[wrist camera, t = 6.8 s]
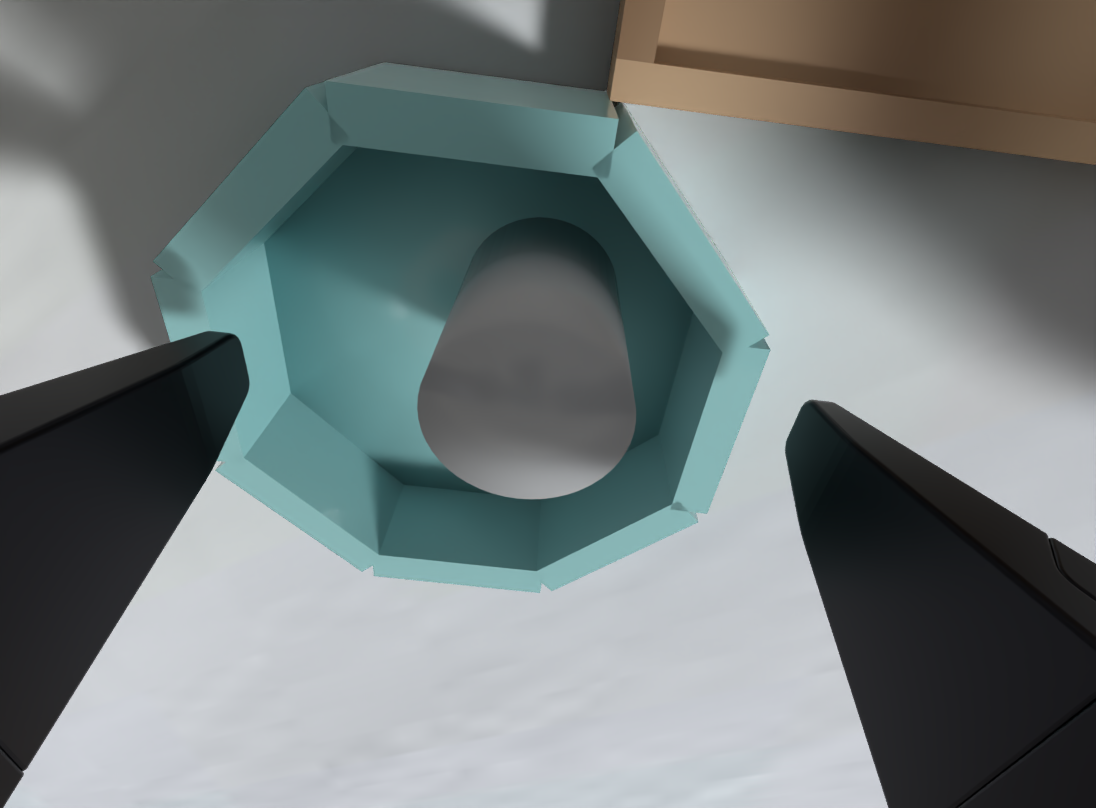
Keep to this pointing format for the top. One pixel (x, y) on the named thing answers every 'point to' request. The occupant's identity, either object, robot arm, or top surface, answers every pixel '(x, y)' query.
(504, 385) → the grey rounded cylinder
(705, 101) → the parts tray
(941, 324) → the top surface
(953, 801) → the robot arm
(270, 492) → the bowl
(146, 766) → the top surface
